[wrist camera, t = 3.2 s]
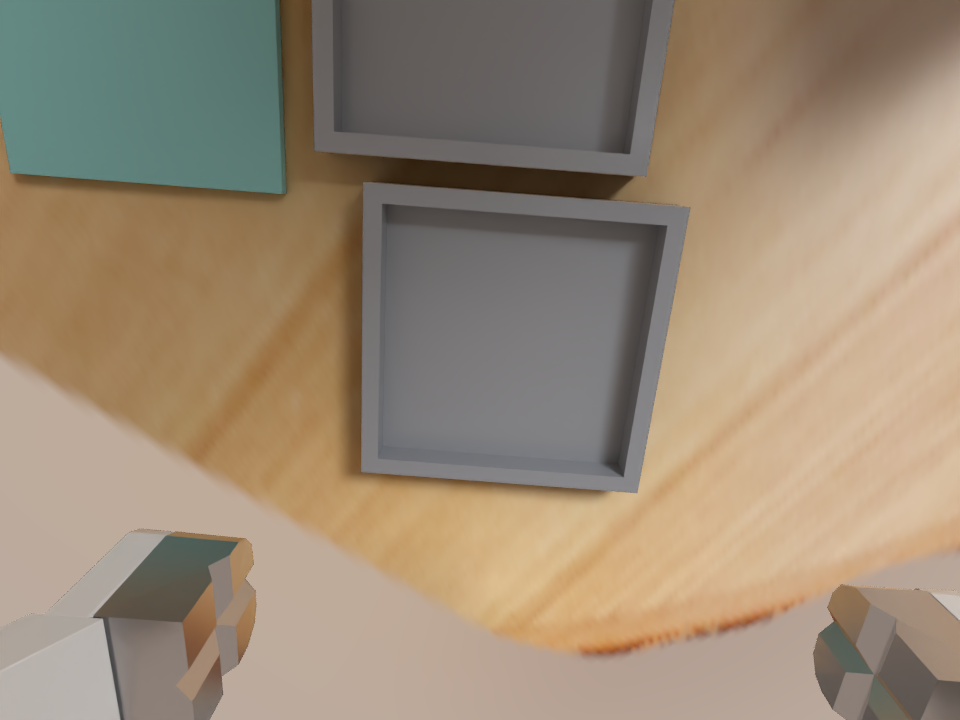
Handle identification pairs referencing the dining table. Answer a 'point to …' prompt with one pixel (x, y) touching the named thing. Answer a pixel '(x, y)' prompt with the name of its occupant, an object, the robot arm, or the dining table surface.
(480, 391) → the dish
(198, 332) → the dining table surface
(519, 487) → the dining table surface
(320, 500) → the dining table surface
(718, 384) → the dining table surface
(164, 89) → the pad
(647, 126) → the dish
